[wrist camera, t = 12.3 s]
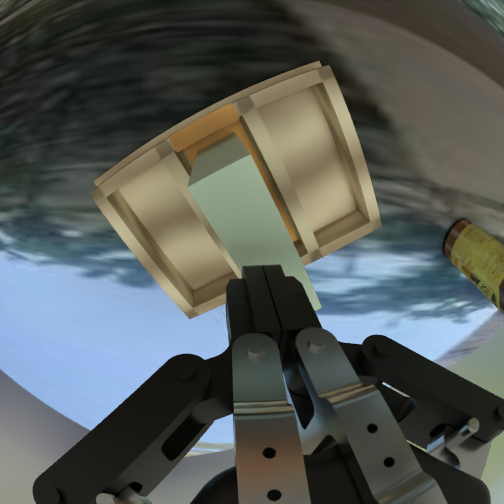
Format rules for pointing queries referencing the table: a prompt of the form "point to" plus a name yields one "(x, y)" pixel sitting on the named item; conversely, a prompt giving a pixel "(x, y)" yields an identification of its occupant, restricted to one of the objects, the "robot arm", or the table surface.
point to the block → (244, 210)
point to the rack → (271, 169)
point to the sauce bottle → (478, 259)
